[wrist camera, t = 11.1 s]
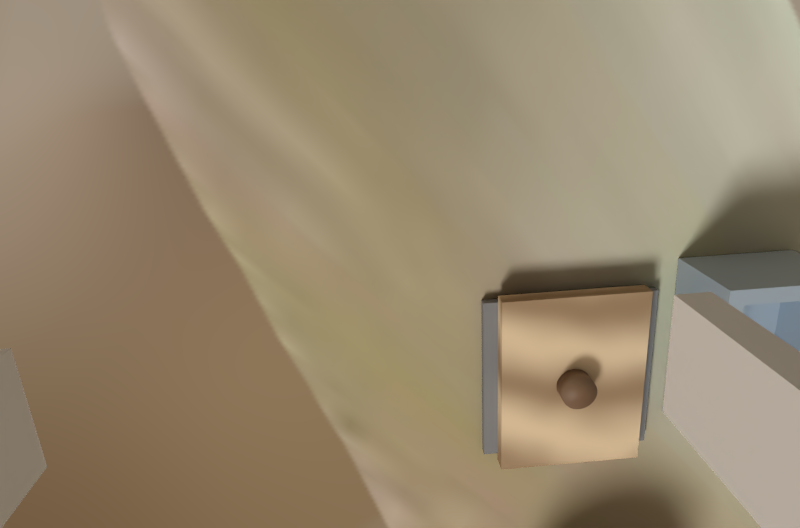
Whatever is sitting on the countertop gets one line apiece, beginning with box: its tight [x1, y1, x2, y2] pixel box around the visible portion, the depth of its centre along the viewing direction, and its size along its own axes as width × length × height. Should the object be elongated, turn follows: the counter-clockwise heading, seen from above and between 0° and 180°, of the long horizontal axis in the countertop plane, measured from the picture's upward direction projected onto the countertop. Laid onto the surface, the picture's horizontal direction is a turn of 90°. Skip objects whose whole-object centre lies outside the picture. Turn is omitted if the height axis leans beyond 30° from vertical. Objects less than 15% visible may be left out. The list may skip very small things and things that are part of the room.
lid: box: [498, 285, 653, 469], centre depth 42 cm, size 13×10×2 cm
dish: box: [662, 250, 800, 410], centre depth 40 cm, size 12×8×6 cm, turn 3°
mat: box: [482, 287, 659, 454], centre depth 43 cm, size 12×12×1 cm
